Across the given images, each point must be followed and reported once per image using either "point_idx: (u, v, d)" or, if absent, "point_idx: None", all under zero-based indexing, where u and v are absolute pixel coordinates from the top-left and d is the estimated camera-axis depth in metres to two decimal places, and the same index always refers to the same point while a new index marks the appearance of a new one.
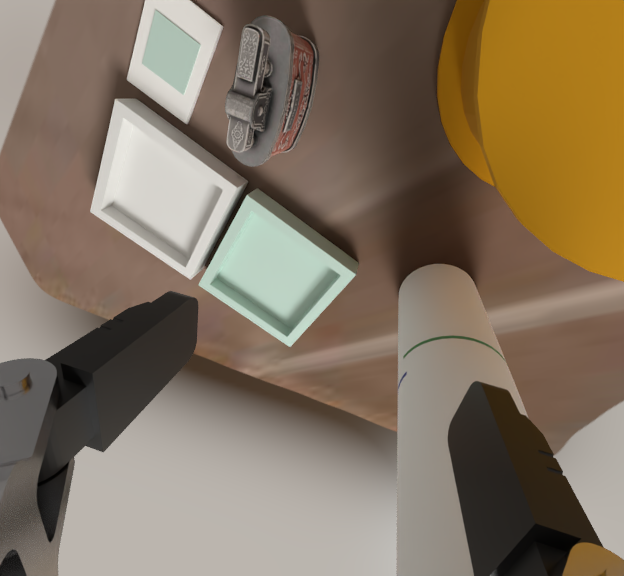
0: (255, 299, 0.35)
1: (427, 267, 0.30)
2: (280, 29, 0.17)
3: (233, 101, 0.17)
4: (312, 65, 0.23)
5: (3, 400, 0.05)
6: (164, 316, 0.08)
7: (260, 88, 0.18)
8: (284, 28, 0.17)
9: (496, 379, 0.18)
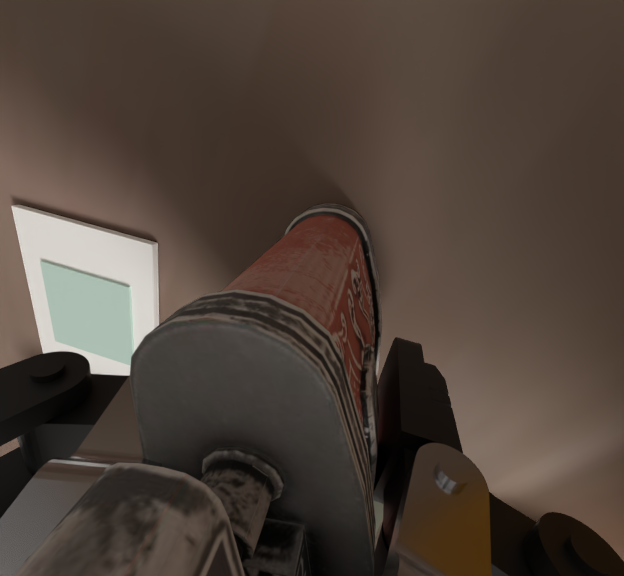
0: None
1: None
2: (261, 354, 0.03)
3: None
4: (364, 258, 0.09)
5: None
6: None
7: None
8: (280, 348, 0.03)
9: None
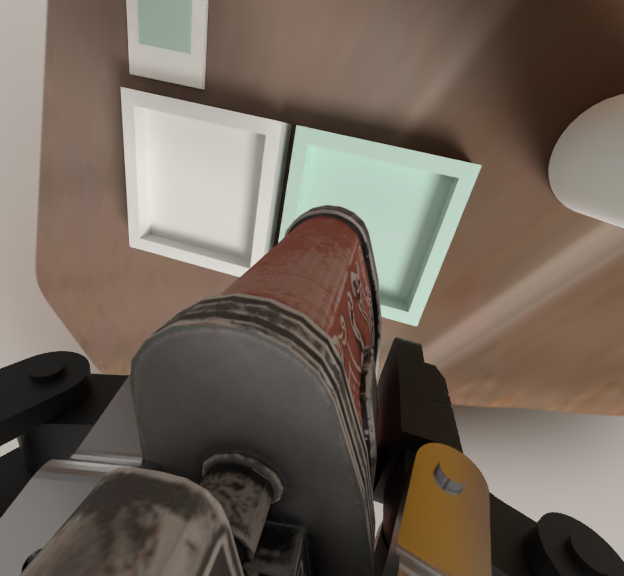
0: None
1: (584, 113, 0.19)
2: (262, 358, 0.03)
3: None
4: (364, 259, 0.09)
5: None
6: None
7: None
8: (280, 352, 0.03)
9: None
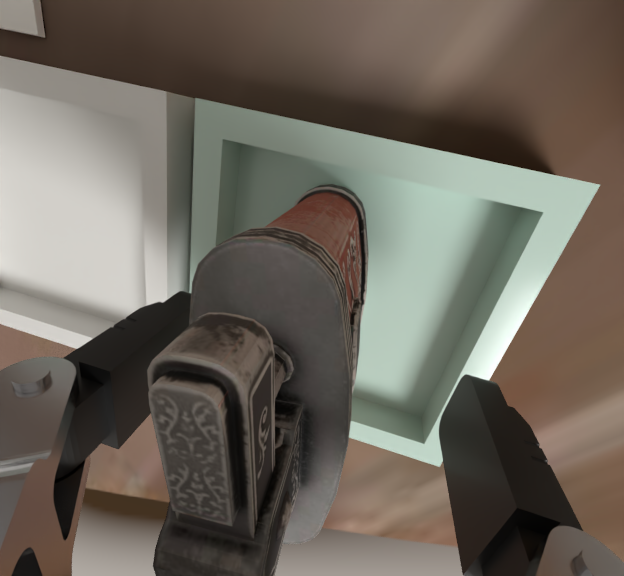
0: None
1: None
2: (296, 266, 0.05)
3: None
4: (359, 234, 0.11)
5: (26, 397, 0.05)
6: (176, 315, 0.08)
7: (270, 471, 0.05)
8: (310, 262, 0.05)
9: None
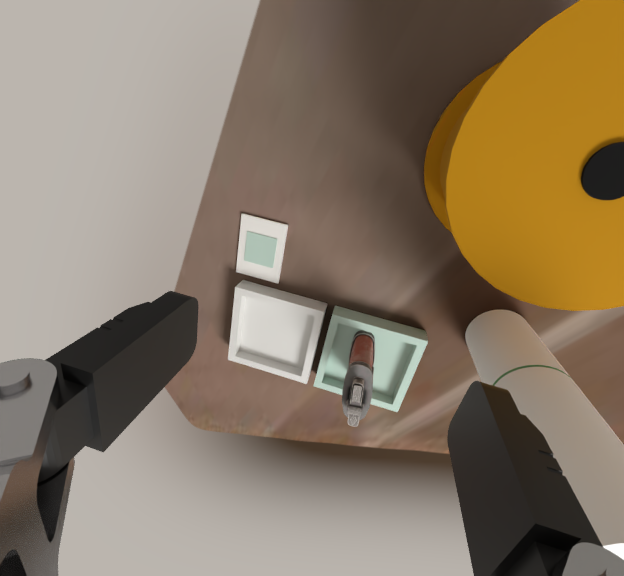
0: None
1: (479, 317, 0.38)
2: (365, 369, 0.35)
3: (351, 410, 0.35)
4: (372, 345, 0.41)
5: (3, 400, 0.05)
6: (164, 316, 0.08)
7: (361, 398, 0.35)
8: (367, 368, 0.35)
9: (559, 389, 0.25)
